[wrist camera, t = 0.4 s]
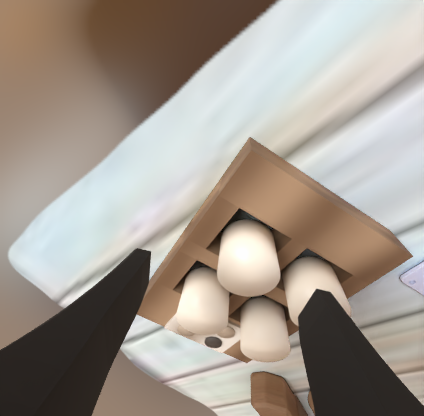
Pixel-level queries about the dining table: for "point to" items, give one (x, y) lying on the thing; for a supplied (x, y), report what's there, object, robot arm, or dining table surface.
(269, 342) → the button
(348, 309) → the button
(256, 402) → the wooden block set
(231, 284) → the button
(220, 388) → the dining table surface
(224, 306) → the button
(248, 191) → the button board
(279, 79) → the dining table surface
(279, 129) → the dining table surface
